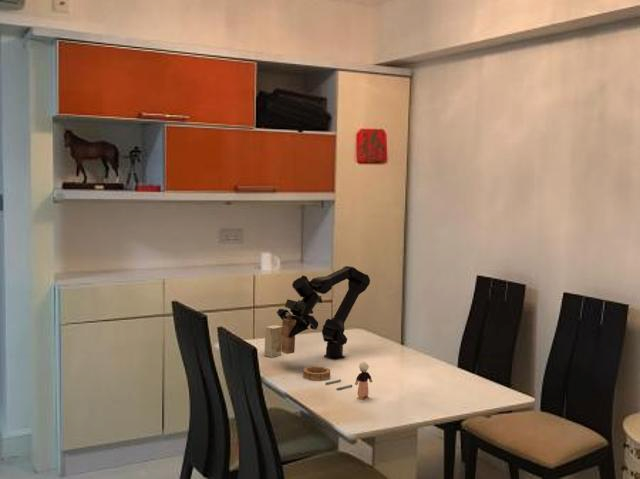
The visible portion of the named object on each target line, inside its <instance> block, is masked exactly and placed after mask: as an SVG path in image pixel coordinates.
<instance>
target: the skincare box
mask: <svg viewBox="0 0 640 479" xmlns="http://www.w3.org/2000/svg"><path fill="white" fill-rule="evenodd" d="M281 333H282V325H281V326H280V325H276V324H273V325H269V326H265V332H264V334H265V336H264V353H263V354H264V356H265V357H270V358H275V357H279V356H282V352H281V349H282V335H281Z"/></svg>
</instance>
